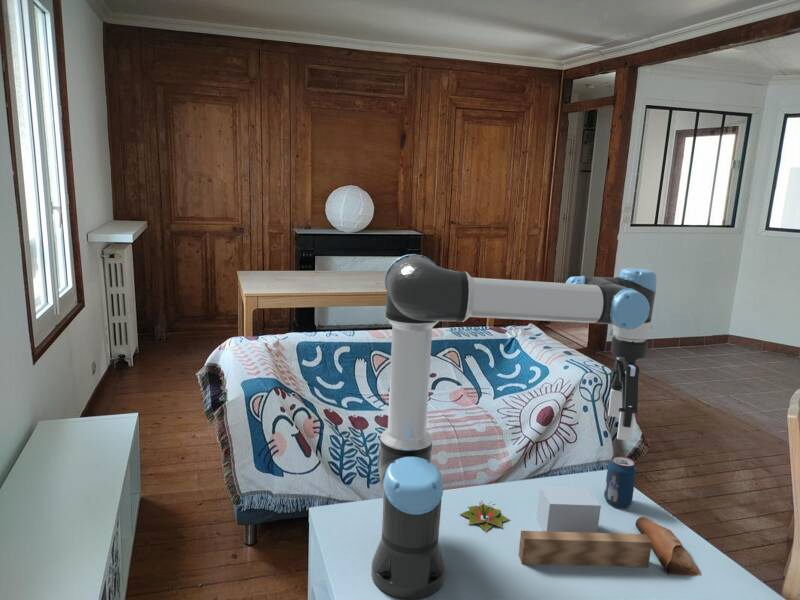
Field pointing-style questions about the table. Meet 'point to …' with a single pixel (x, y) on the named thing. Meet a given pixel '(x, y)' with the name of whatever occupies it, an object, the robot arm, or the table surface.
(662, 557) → the sunglasses case
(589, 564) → the walnut board
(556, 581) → the table surface
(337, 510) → the table surface
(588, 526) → the white block
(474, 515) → the lily flower
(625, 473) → the soda can
